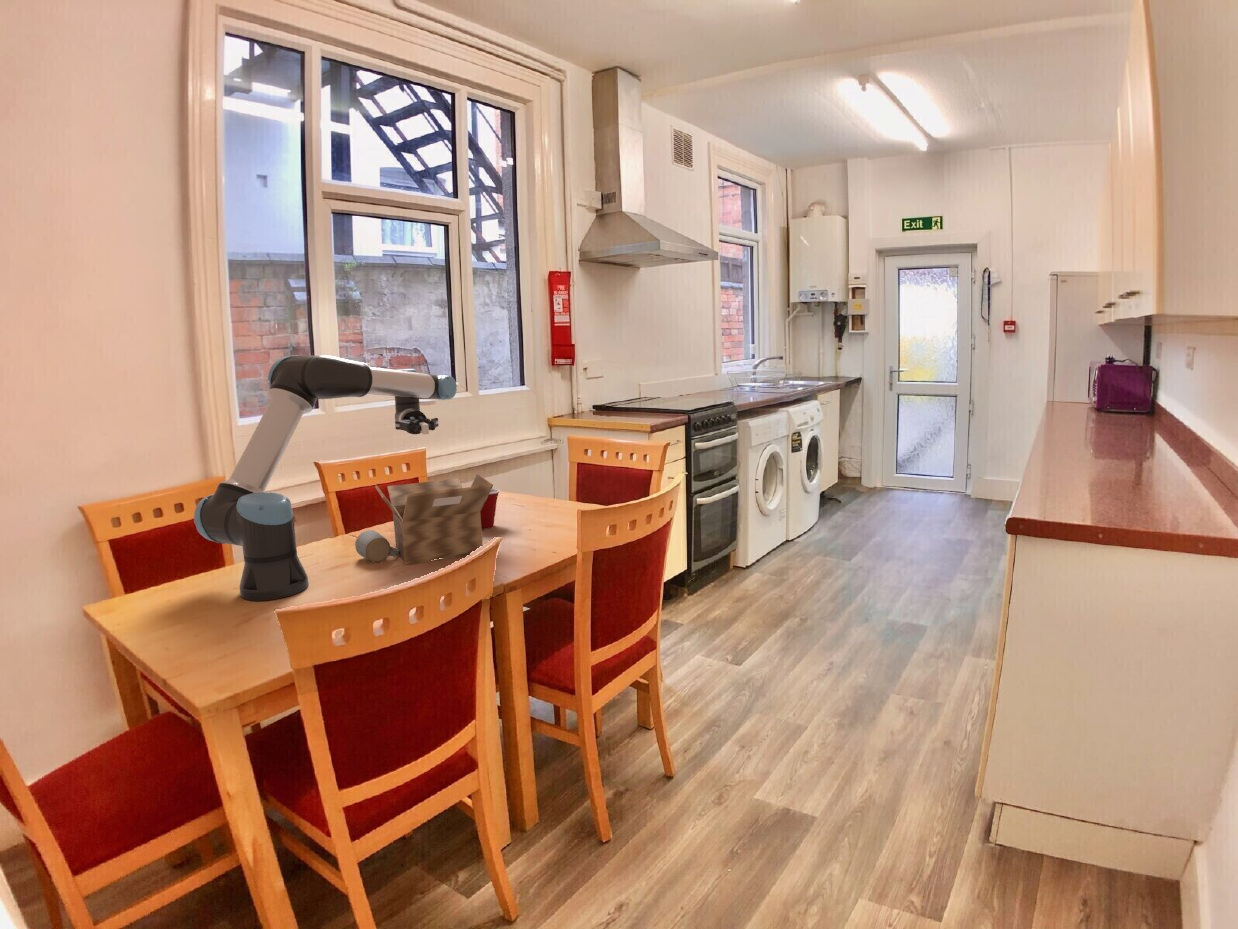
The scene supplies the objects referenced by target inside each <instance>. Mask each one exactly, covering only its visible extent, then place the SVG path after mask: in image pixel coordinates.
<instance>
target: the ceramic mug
mask: <svg viewBox="0 0 1238 929" xmlns="http://www.w3.org/2000/svg"><path fill="white" fill-rule="evenodd" d="M354 545H355V550H356V552H357V553H358V555H359V556H361V557H362V558H364V559H366V560H367V561H368V562H372V563H381V562H383V561H385V560H386V559H387V558H388V557H390V556H392V557H399V556H400V554H399V552H400V551H399V550H398V549H396V547H394V546H391V544H390V542H389V540H388V539H387V538H386V537H385V536H383V535H382V534H380V532H378V531H376V530H372V529H369V530H368V529H367V530H365V531H363V532H361V533H360V534H358V536H357V537H356V540H355V544H354Z"/></svg>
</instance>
